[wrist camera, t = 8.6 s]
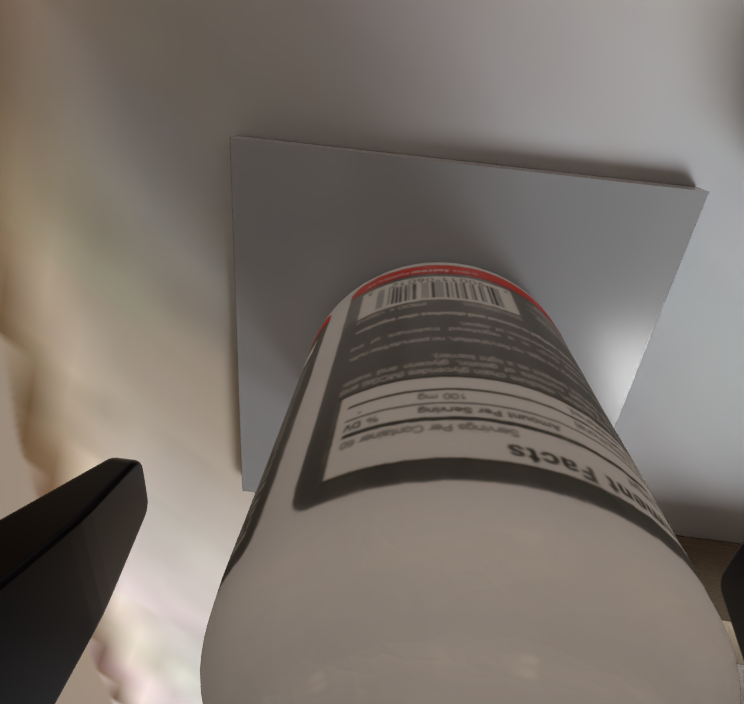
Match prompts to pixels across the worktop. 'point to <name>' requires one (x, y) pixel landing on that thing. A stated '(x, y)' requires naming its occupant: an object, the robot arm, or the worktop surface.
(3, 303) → the worktop surface
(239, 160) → the coaster
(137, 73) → the worktop surface
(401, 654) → the pill bottle
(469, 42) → the worktop surface
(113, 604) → the worktop surface
